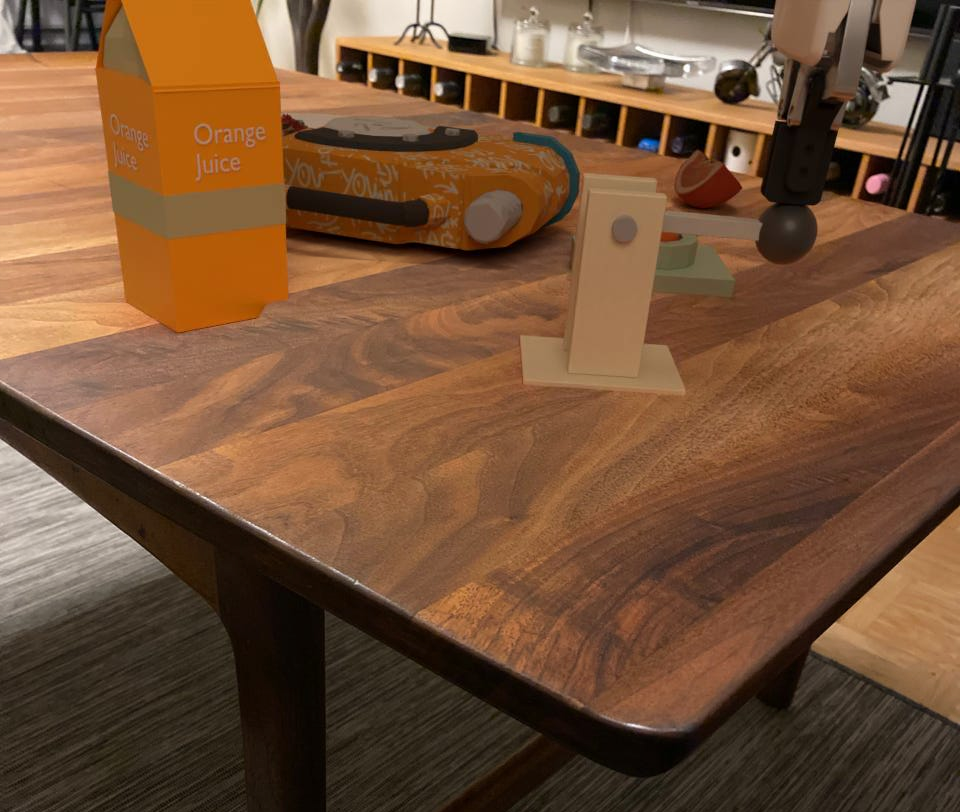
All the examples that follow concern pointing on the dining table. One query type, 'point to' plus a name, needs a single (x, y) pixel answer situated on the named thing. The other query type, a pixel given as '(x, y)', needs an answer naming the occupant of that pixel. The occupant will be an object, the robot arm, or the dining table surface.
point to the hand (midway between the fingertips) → (789, 199)
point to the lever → (755, 230)
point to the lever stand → (609, 296)
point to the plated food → (304, 121)
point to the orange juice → (193, 159)
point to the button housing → (688, 269)
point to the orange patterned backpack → (425, 182)
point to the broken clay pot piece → (705, 182)
